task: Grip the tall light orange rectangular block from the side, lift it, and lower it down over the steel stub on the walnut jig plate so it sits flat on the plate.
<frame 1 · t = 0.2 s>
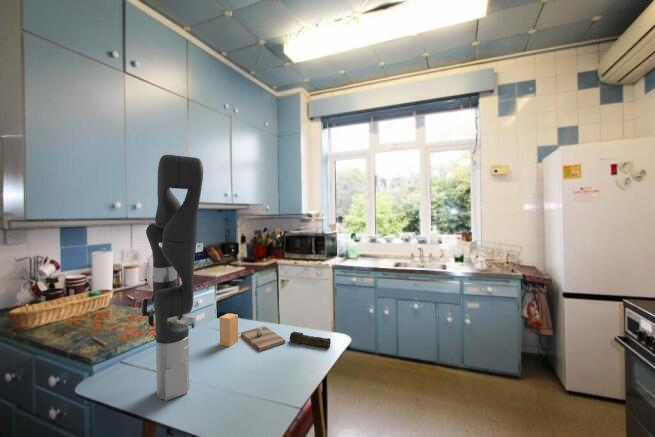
hand: (165, 322, 101), 18 cm above the table, tool pointing down, fingers open, 8 cm apart
dark brown rough bar: (308, 345, 122), on the table
jig plate: (262, 339, 128), on the table
light orange rectangular block: (229, 342, 124), on the table
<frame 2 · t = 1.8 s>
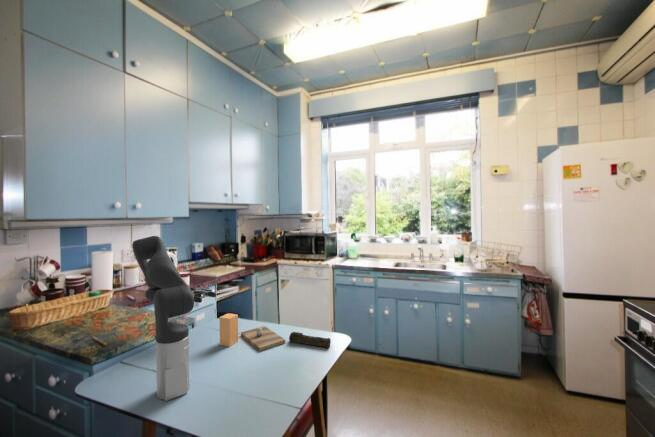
hand: (208, 297, 128), 19 cm above the table, tool horizontal, fingers open, 8 cm apart
nothing on the table moved.
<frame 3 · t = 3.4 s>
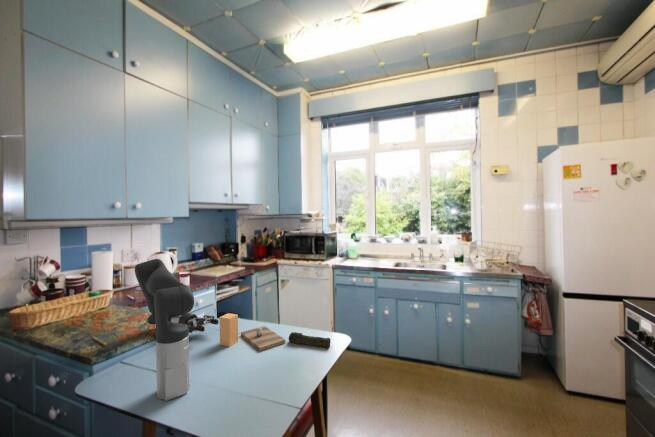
hand: (211, 325, 127), 6 cm above the table, tool horizontal, fingers open, 8 cm apart
nothing on the table moved.
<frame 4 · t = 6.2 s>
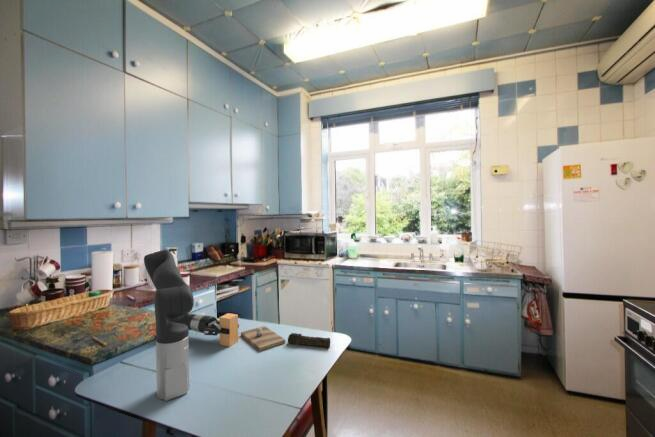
hand: (233, 329, 123), 7 cm above the table, tool horizontal, fingers closed on light orange rectangular block, 5 cm apart
light orange rectangular block: (229, 342, 124), on the table, touching gripper
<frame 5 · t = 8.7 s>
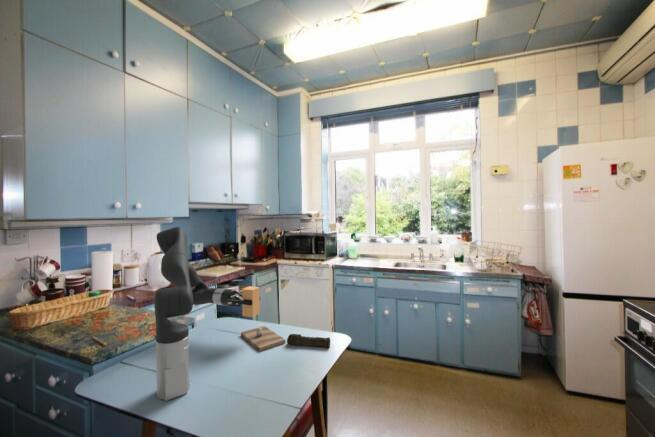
hand: (255, 300, 126), 18 cm above the table, tool horizontal, fingers closed on light orange rectangular block, 5 cm apart
light orange rectangular block: (251, 314, 127), point 11 cm above the table, touching gripper
when the fingers open (8 cm above the table, at t = 11.6 s): light orange rectangular block stays where it is, resting on jig plate.
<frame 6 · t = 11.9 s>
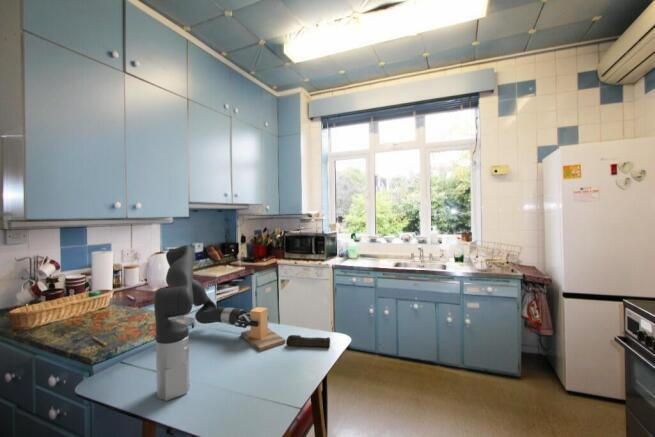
hand: (263, 321, 127), 9 cm above the table, tool horizontal, fingers open, 7 cm apart
light orange rectangular block: (259, 335, 128), point 1 cm above the table, touching jig plate
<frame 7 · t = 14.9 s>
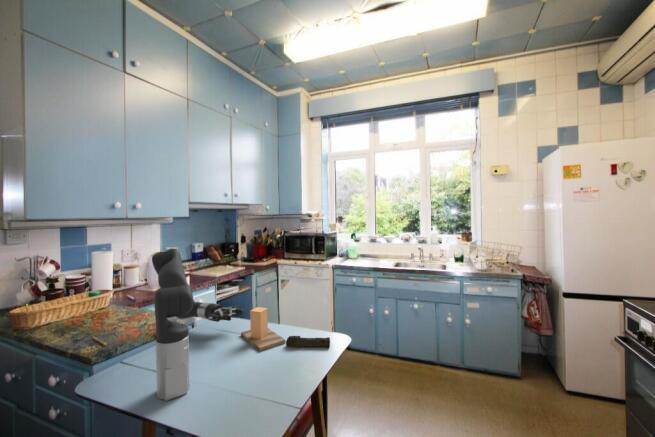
hand: (236, 315, 131), 10 cm above the table, tool horizontal, fingers open, 8 cm apart
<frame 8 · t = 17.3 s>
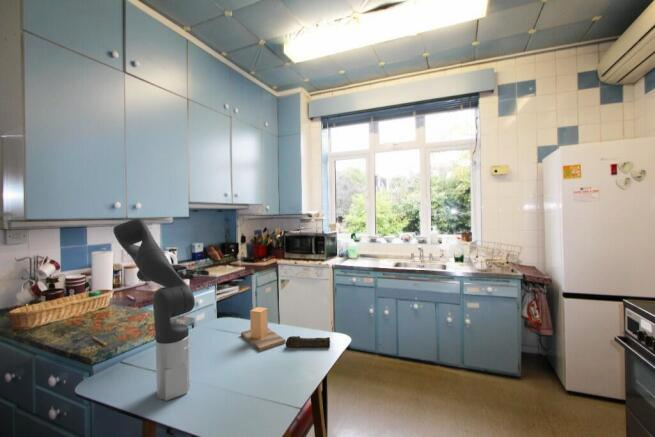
hand: (201, 275, 124), 30 cm above the table, tool horizontal, fingers open, 8 cm apart
at the end: light orange rectangular block 0.1 cm from the target spot on the jig plate, point 1.5 cm above the jig plate's base; light orange rectangular block tilted 0°; the gripper is holding nothing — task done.
